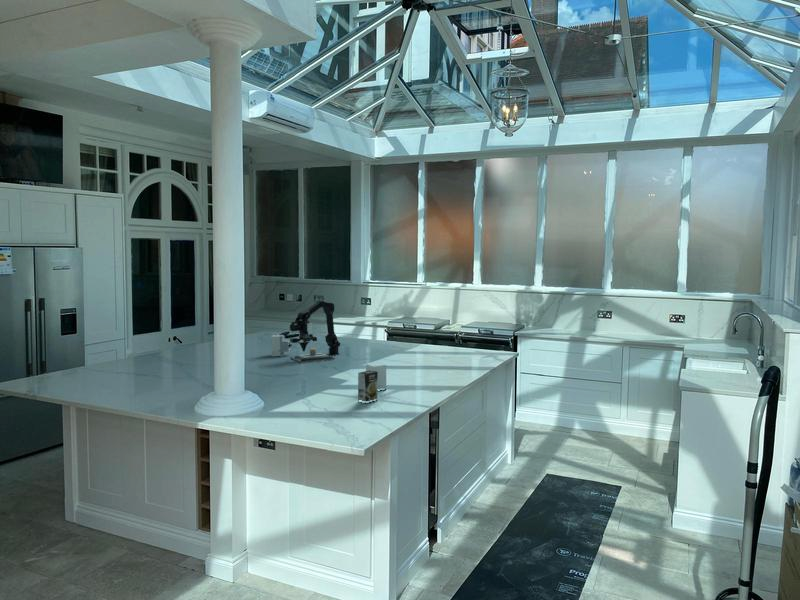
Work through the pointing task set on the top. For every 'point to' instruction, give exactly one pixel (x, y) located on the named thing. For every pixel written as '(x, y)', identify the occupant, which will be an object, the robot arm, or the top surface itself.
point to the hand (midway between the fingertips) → (303, 351)
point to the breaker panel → (311, 357)
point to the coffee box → (367, 385)
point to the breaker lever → (312, 351)
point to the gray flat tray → (313, 358)
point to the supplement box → (381, 373)
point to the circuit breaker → (279, 345)
